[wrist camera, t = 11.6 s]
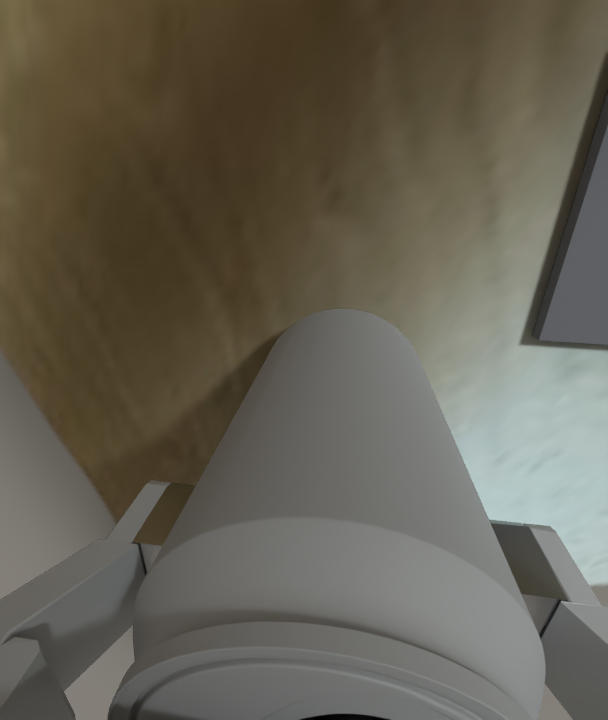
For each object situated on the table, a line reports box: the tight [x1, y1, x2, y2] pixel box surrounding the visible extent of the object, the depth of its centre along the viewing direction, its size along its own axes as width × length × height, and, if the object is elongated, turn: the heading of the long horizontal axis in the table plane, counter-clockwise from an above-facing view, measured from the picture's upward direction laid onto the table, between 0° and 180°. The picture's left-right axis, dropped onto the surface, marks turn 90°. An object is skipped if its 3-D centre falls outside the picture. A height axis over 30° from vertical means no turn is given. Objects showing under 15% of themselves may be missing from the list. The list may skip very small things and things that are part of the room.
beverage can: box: [108, 309, 546, 720], centre depth 10 cm, size 6×6×12 cm
